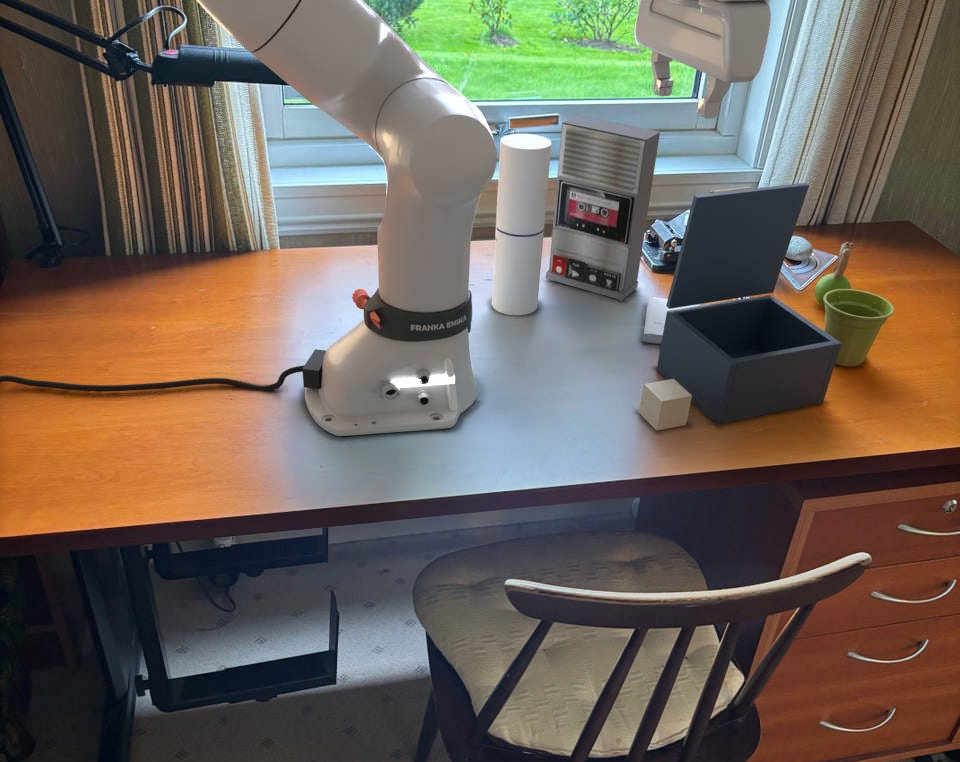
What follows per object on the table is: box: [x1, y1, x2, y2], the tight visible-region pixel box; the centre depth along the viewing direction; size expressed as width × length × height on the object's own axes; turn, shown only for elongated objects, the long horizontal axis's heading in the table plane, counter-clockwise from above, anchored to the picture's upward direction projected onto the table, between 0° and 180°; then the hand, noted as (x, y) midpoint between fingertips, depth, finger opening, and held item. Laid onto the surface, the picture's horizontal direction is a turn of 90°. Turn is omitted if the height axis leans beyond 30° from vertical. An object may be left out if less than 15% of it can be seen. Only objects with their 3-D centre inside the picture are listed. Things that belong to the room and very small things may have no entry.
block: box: [638, 379, 692, 432], centre depth 116 cm, size 4×4×4 cm
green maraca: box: [814, 241, 855, 308], centre depth 143 cm, size 5×6×12 cm
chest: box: [656, 294, 842, 425], centre depth 123 cm, size 15×17×9 cm
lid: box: [666, 182, 810, 309], centre depth 121 cm, size 16×17×5 cm
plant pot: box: [823, 288, 895, 367], centre depth 130 cm, size 9×9×9 cm
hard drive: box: [642, 296, 702, 345], centre depth 138 cm, size 2×8×12 cm
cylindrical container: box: [491, 133, 552, 316], centre depth 135 cm, size 7×7×25 cm
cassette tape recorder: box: [545, 114, 661, 302], centre depth 142 cm, size 14×6×25 cm, turn 58°
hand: (683, 105), depth 104 cm, fingers open, 8 cm apart
